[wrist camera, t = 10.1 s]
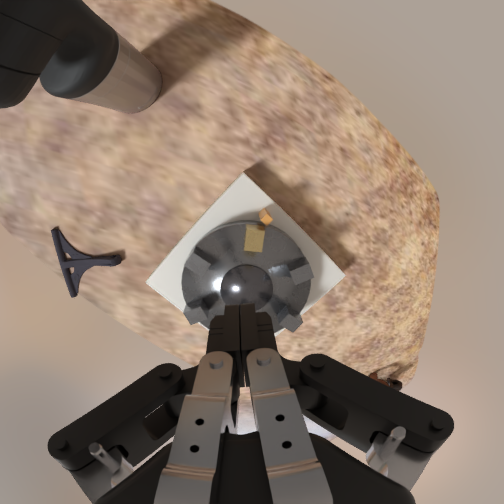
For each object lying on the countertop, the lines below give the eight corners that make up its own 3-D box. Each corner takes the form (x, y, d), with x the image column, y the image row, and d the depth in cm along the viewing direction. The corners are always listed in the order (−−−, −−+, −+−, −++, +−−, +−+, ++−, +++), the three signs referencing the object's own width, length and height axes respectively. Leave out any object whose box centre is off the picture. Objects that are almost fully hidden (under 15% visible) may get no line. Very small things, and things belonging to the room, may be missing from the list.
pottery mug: (360, 398, 63) (360, 414, 56) (355, 370, 64) (354, 384, 56) (401, 388, 59) (405, 402, 52) (397, 359, 60) (402, 372, 52)
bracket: (131, 291, 48) (127, 298, 45) (73, 293, 48) (67, 300, 45) (114, 218, 43) (107, 222, 40) (54, 228, 43) (46, 232, 40)
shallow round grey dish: (186, 214, 40) (179, 222, 35) (318, 228, 41) (328, 238, 37) (184, 324, 47) (179, 342, 42) (294, 333, 48) (299, 350, 44)
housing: (150, 274, 46) (138, 294, 40) (242, 171, 41) (243, 175, 34) (247, 347, 53) (249, 372, 46) (340, 268, 48) (354, 286, 41)
